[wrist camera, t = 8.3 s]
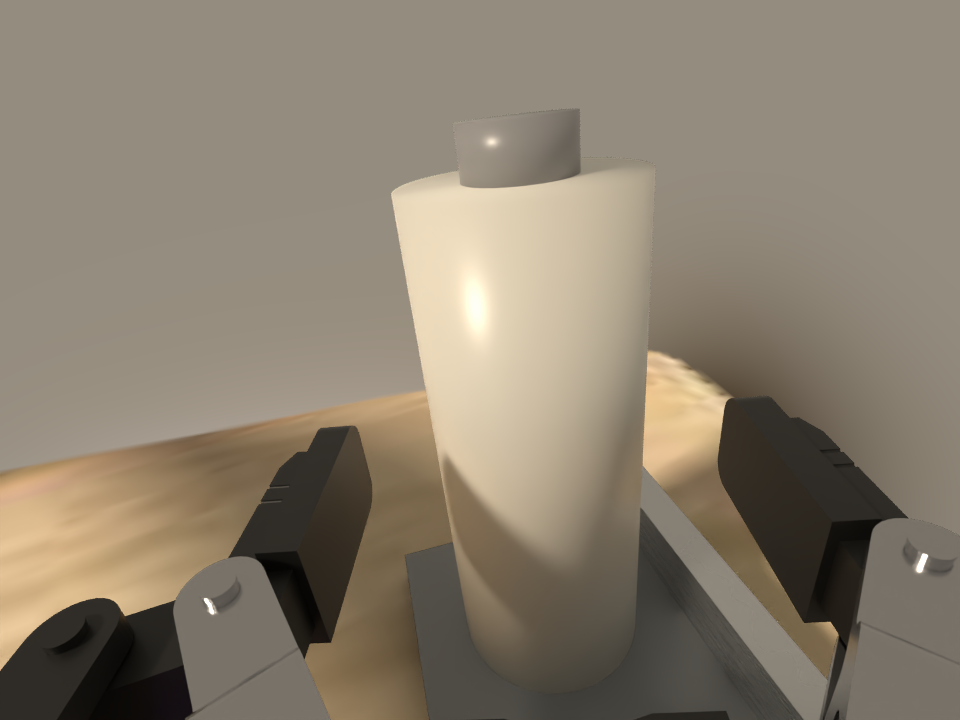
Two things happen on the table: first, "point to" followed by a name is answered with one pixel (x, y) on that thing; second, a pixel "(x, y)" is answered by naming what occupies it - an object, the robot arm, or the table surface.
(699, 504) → the table surface
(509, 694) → the shelf board
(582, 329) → the cream bottle
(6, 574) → the table surface
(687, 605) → the rail
